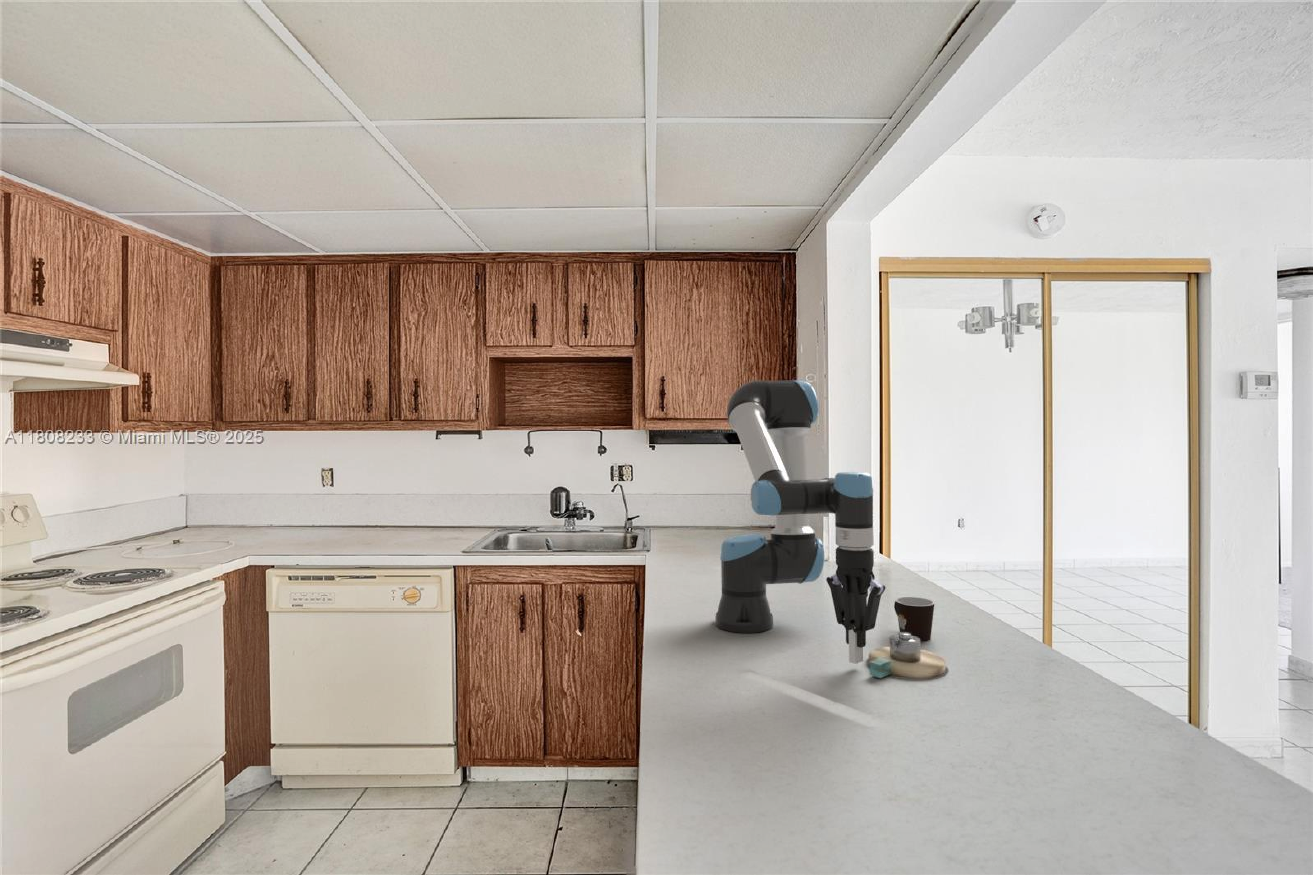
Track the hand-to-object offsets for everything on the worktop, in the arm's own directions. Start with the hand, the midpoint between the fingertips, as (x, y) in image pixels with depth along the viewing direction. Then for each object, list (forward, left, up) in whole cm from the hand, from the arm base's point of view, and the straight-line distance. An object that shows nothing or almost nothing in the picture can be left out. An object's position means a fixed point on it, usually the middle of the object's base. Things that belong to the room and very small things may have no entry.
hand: (856, 661), depth 134 cm
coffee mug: (-5, +30, -3) cm, 30 cm away
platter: (+5, +8, -2) cm, 10 cm away
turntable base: (+5, +10, -3) cm, 11 cm away
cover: (+5, +10, 0) cm, 11 cm away
